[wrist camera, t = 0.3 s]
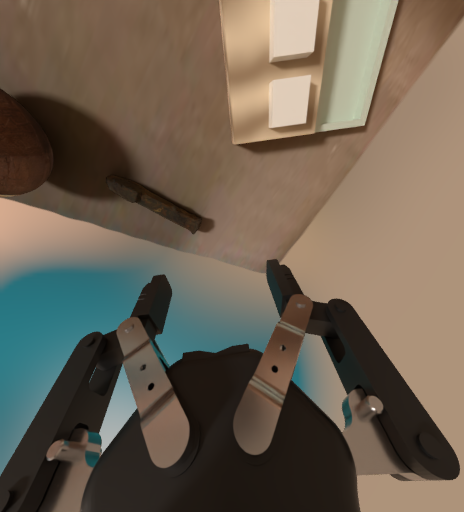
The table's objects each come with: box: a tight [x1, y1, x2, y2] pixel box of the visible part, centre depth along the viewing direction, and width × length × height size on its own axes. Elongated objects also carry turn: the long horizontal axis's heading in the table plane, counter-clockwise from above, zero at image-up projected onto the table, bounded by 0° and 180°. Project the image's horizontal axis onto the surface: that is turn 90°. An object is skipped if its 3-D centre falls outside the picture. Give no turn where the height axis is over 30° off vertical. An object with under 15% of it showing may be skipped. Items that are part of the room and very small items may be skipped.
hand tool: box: [106, 175, 202, 234], centre depth 35 cm, size 19×4×5 cm, turn 53°
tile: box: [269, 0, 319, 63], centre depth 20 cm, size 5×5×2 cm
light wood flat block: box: [219, 0, 333, 144], centre depth 24 cm, size 18×13×5 cm
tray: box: [315, 0, 398, 132], centre depth 25 cm, size 18×9×2 cm, turn 7°
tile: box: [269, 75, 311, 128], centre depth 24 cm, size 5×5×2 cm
